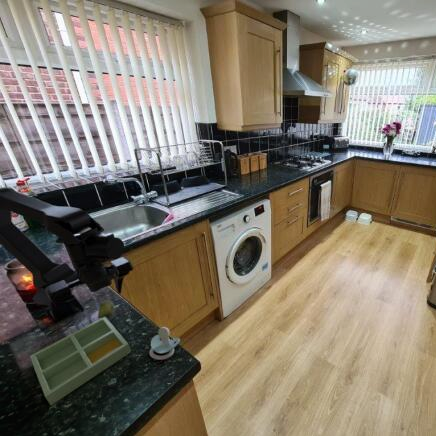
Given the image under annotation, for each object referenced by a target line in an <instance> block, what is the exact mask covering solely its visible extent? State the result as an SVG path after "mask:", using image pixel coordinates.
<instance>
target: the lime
mask: <svg viewBox="0 0 436 436" xmlns="http://www.w3.org/2000/svg"><path fill="white" fill-rule="evenodd" d="M114 309H115V304H114V303H113V301H112V300H111V299H104V300H102V301H101V303H100V306H99V308H98V313H97V317H98V318H99V319H101V318H103V317H106V318H107V317H108V316H110V315H112V314H113V312H114Z"/></svg>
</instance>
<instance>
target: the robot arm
mask: <svg viewBox="0 0 436 436" xmlns="http://www.w3.org/2000/svg"><path fill="white" fill-rule="evenodd" d="M12 213H13V214H16V215H19V216H22V217H24V218H26V219H29V220H32V221H34V222H38V223H40V224H41V225H43V226H44V228H45V229H46V231H47V232H49V233H51V234H53V235H55V236H57V239H56V240H55V243H56V244H63V245H64V247H65V250H66V252H67V255H68V257H69V260H70V262H71V264H72V267H73V268H72V267H71V266H70V265H69V264H68V263H66V262H63V263H58V262H55V261H53V260H51V259H50V258H49V257H48V256H47V255H46V254H45V252H43V250H41V249H40V248H39V247H38V246H37V245H36V244H35V243H34V242H33V241H32V240H31V239H30V238H29V237H28V236H27V235H26V234H25V233H24V232H23V231H22V230H21V229H20V228H19V227H18V226H17V225H16V224H15V223H13V219H12ZM87 229H88V230H87ZM85 230H86V231H85ZM83 231H84V232H83ZM81 232H82V233H81ZM103 232H105V228H104V227H103V226H102V225H101V224H100V223H99V222H97V221H96V220H95V219H94V218H93V217H92V216H91V215H90V214H89V213H88V212H87V211H86V210H84V209H81V208H77V207H72V206H57V205H52V204H50V203H48V202H45V201H42V200H40V199H37V198H35V197H31V196H29V195H27V194H24V193H21V192H18V191H17V190H15V189H14V188H12V187H6V186H3V187H0V245H1V246H2V247H3V248H4V249H5V250H6V251H7V252H8V253H9V254H11V256H12V257H14V258H15V259H16V260H17V261H18V262H19V263H20V264H21V265H22V266H23V267H24V268H25V269H26V270H27V271H29V272H30V273H31V275H32V285H33V287H34V288H35V289H36V290H37V291H36V293H35V294H34V296H33V297H32V301H34V303H35V304H36V305H39V306H40V305H41V306H48V307H49V310H50V311H49V315H50V316H51V318H52V320H53V321H54V323H57V322H59V321H61V320H63V319H65V318H67V317H70V316H71V315H73V314H76V313H78V312H82V313H83V312H85V309H84V307H83V306H82V305H81V303H80V301H79V300H78V298H77V297H76V295H75V294H74V293H73V291H74V290H75V289H77V288H79V287H82V286H84V285H85V286H86V287H87V289H89V291H90V293H96V292H98V291H100V290H101V289H104V288H107V287H109V286H111V285H112V284H113V282H114V285H115V289H116V291H117V293H118V295H121V294H122V290H123V289H122V288H123V282H124V279H125V277H126V276H127V275H129V274H130V272H132V271H133V270H134V266H133V263H132V262H131V261H130V260H129V259H127V258H126V257H124V256H122V255H123V254H124V252H125V242H124V241H123V240H122V239H121V238H120V237H115V234H114V233H112V232H111V233H110V232H109V233H103ZM121 256H122V257H121ZM102 260H112V261H110V262H109V265H105V264H103V263H102Z"/></svg>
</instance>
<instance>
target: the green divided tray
mask: <svg viewBox="0 0 436 436" xmlns="http://www.w3.org/2000/svg"><path fill="white" fill-rule="evenodd" d="M130 353H132V350H131V347H130V345H129V343H128V342H127V340H125V338H124V337H123V335H121V334H120V332H119V331H118V330H117V329H116V328H115V326H114V325H113V324H112V323H111V321H109V319H108V318H107V317H103V318H99V319H97V320H96V321H94V322H92V323H90V324H88V325H86V326H84V327H82V328H80V329H78V330H76V331H74V332H73V333H70V334H69V335H67V336H65V337H63V338H61V339H60V340H57V341H55V342H54V343H52V344H50V345H48V346H46V347H44V348H42V349H40V350H38V351H36V352H35V353H33V354H31V355H29V359H30V361H31V364H32V366H33V369H34V372H35V374H36V377H37V380H38V382H39V385H40V388H41V389H42V393H43V396H44V397H45V399H46V401H47V402H48V404H49V406H53V405H54V404H56V403H57V402H58V401H60V400H62V399H63V398H64V397H66V396H67V395H69V394H70V393H72V392H74V391H75V390H76V389H78V388H80V387H81V386H83V385H84V384H86V383H87V382H89V381H90V380H91V379H93V378H94V377H96V376H98V375H99V374H101V373H102V372H104V371H105V370H106V369H108V368H110V367H112V366H113V365H114V364H116V363H117V362H119V361H121V360H122V359H123V358H124V357H126V356H128V355H129V354H130Z"/></svg>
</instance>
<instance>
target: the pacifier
mask: <svg viewBox="0 0 436 436" xmlns="http://www.w3.org/2000/svg"><path fill="white" fill-rule="evenodd" d="M157 333H158V334H156V335H154V336H153V337H152V338H151V341H150V347H151V348H150V350H149V352H148V354H149V356H150V357H151V358H152V359H154V360H156V361H157V360H158V361H163V360H167V359H169V358H171V357H172V356H173V355H174V353H175V348H176V347H177V346H178V345H179V343H180V341H181V338H180V337H174V338H170V329H169V328H168V327H166V326H162V327H160V328H159V329H158V330H157ZM172 339H173V340H172ZM154 352H155V353H154ZM156 353H157V354H156ZM159 354H164V355H159Z"/></svg>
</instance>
